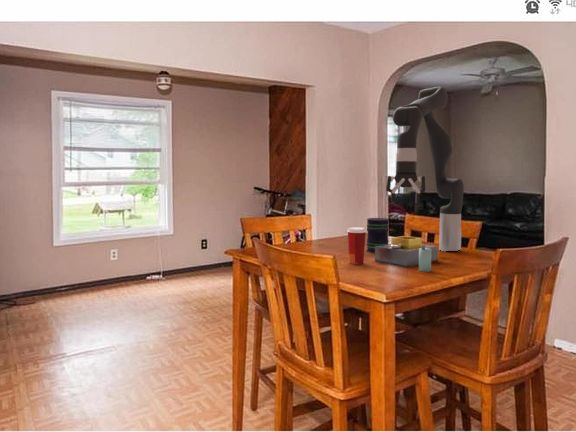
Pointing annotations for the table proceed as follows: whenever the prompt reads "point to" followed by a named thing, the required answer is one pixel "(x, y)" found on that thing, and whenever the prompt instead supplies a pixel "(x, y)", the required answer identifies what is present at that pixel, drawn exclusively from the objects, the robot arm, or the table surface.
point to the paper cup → (356, 245)
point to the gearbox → (403, 251)
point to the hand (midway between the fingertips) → (405, 203)
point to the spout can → (424, 259)
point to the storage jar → (377, 233)
